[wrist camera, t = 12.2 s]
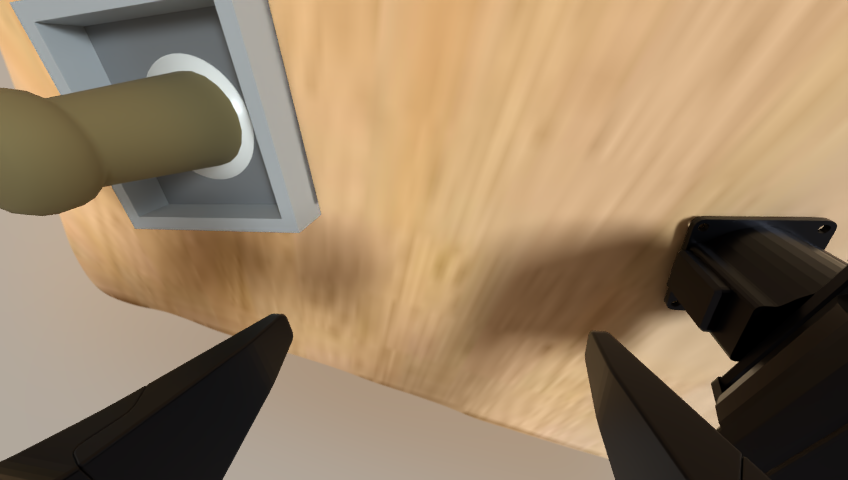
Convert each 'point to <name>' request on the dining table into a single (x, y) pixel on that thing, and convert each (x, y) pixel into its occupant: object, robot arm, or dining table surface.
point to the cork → (109, 138)
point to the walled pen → (222, 64)
